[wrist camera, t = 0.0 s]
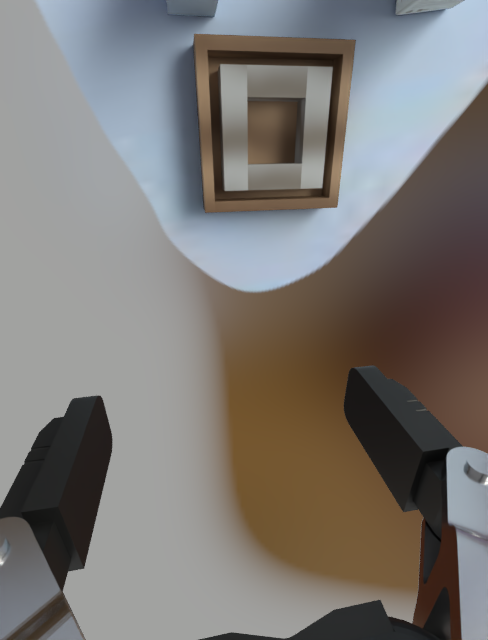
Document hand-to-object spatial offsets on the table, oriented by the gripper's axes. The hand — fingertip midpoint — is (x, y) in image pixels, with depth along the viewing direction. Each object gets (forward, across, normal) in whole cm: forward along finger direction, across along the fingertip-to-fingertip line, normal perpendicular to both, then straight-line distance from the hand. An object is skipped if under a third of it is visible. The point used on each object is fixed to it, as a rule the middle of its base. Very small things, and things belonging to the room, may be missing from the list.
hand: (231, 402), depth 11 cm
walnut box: (+29, -8, -9) cm, 32 cm away
